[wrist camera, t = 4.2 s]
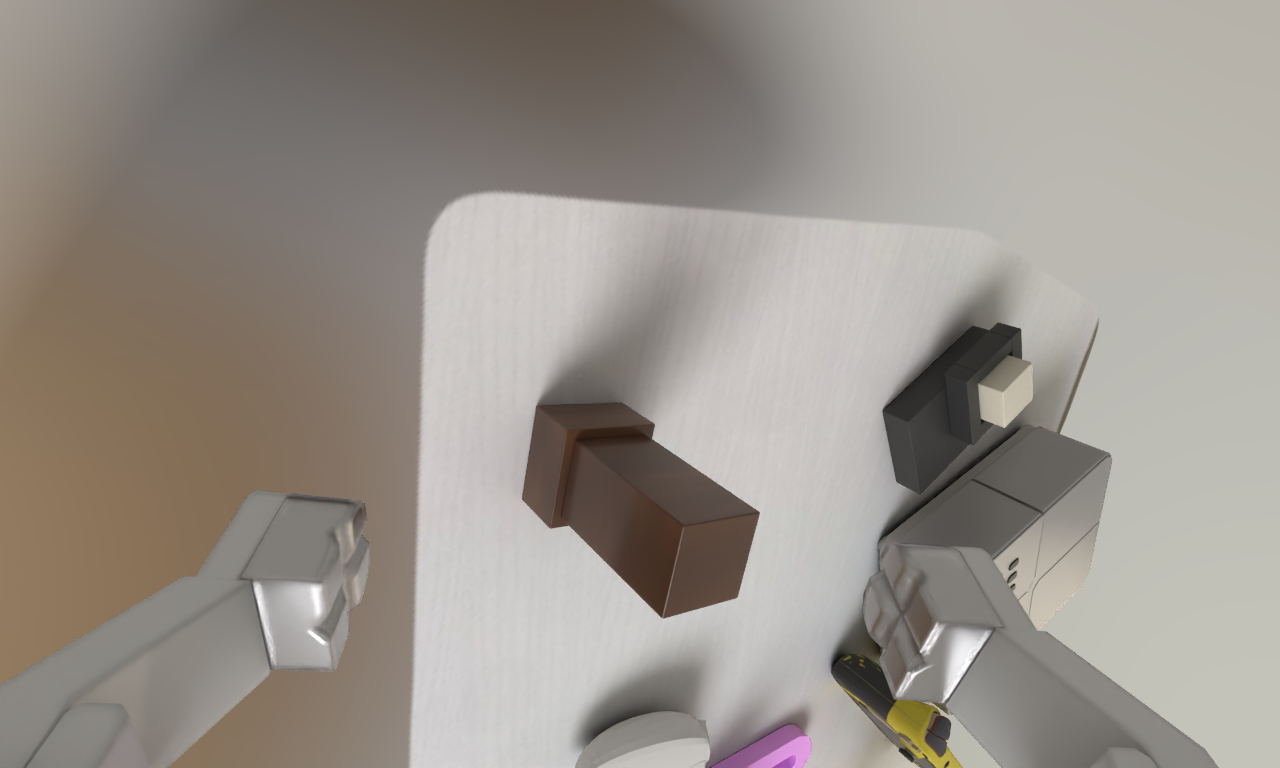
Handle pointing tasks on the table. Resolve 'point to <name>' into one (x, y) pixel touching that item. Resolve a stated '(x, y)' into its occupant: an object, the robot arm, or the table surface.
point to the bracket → (773, 751)
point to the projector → (1023, 516)
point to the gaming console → (896, 713)
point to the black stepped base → (945, 406)
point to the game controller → (650, 743)
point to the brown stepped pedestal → (638, 505)
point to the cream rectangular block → (1006, 391)
